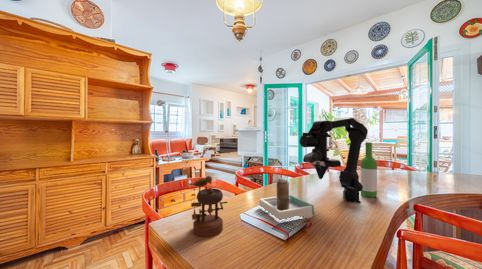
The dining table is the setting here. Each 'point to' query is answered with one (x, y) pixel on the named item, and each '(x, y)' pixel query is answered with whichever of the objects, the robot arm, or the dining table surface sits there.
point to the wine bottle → (369, 173)
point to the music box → (207, 223)
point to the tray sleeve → (285, 214)
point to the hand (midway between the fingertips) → (320, 179)
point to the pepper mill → (282, 194)
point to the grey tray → (293, 203)
